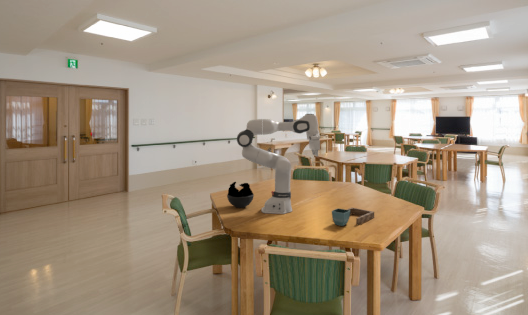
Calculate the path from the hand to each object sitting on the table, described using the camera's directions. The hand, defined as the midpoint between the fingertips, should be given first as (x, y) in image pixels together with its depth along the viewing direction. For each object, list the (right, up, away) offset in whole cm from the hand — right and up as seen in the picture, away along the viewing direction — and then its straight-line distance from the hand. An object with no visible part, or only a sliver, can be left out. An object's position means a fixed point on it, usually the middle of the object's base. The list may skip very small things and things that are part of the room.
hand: (315, 155), depth 232 cm
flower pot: (+11, -43, -29) cm, 53 cm away
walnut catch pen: (+23, -42, -17) cm, 51 cm away
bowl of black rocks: (-54, -39, +14) cm, 68 cm away
